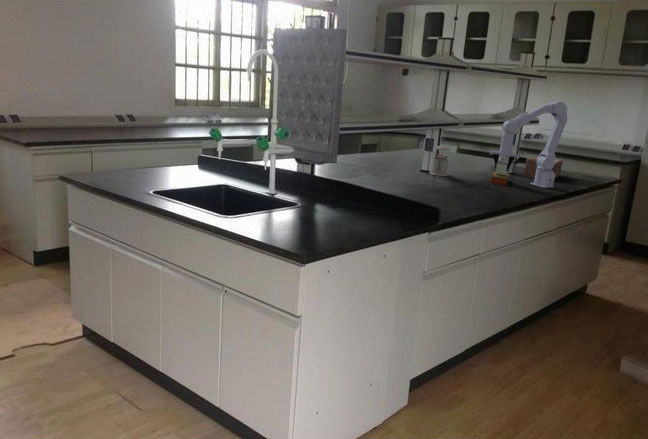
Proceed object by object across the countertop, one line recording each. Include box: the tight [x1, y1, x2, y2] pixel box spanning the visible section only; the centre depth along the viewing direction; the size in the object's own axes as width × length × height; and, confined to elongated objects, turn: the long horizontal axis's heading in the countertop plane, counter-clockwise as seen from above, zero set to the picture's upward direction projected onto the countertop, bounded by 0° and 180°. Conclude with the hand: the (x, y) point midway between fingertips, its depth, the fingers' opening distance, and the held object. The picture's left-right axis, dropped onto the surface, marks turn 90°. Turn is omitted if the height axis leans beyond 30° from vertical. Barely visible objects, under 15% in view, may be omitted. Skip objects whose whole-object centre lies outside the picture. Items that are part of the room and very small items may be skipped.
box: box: [494, 161, 508, 175], centre depth 302 cm, size 5×5×6 cm
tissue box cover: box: [523, 155, 564, 179], centre depth 335 cm, size 26×14×10 cm, turn 147°
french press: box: [428, 133, 451, 177], centre depth 304 cm, size 10×12×25 cm
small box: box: [498, 154, 514, 174], centre depth 336 cm, size 8×6×10 cm
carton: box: [489, 171, 510, 186], centre depth 303 cm, size 8×16×4 cm, turn 161°
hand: (501, 169), depth 302 cm, fingers closed on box, 5 cm apart
